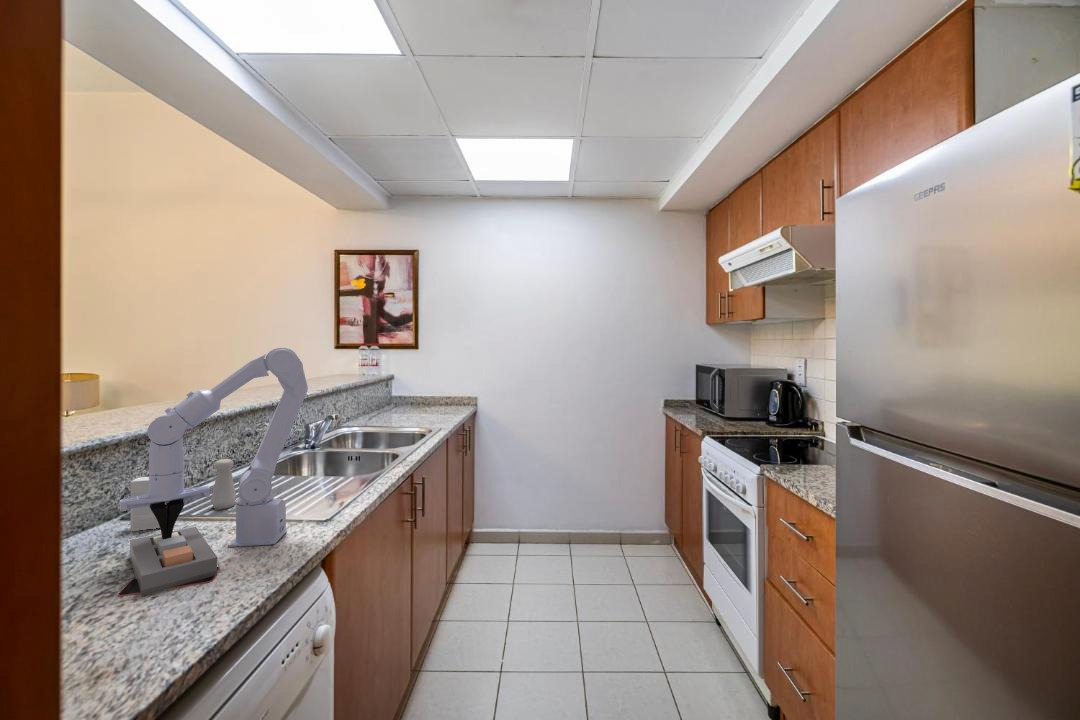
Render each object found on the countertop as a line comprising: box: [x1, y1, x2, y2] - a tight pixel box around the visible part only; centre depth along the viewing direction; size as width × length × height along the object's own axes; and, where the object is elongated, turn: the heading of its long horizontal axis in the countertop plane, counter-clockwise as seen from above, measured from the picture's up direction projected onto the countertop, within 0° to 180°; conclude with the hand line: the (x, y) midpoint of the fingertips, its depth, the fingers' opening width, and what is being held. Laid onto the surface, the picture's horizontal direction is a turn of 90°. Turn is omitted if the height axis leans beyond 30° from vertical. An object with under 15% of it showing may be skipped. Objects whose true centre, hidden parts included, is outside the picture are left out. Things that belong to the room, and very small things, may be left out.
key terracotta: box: [162, 545, 193, 567], centre depth 87 cm, size 4×4×2 cm
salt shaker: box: [210, 458, 237, 510], centre depth 128 cm, size 6×6×13 cm
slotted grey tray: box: [129, 526, 218, 597], centre depth 92 cm, size 22×11×4 cm, turn 45°
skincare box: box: [129, 476, 166, 532], centre depth 112 cm, size 6×4×12 cm
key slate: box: [158, 535, 186, 555], centre depth 92 cm, size 4×4×2 cm
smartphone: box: [117, 566, 221, 598], centre depth 86 cm, size 7×1×14 cm
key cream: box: [153, 532, 179, 545], centre depth 97 cm, size 4×4×2 cm
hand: (166, 537), depth 97 cm, fingers closed, pressing on key cream
